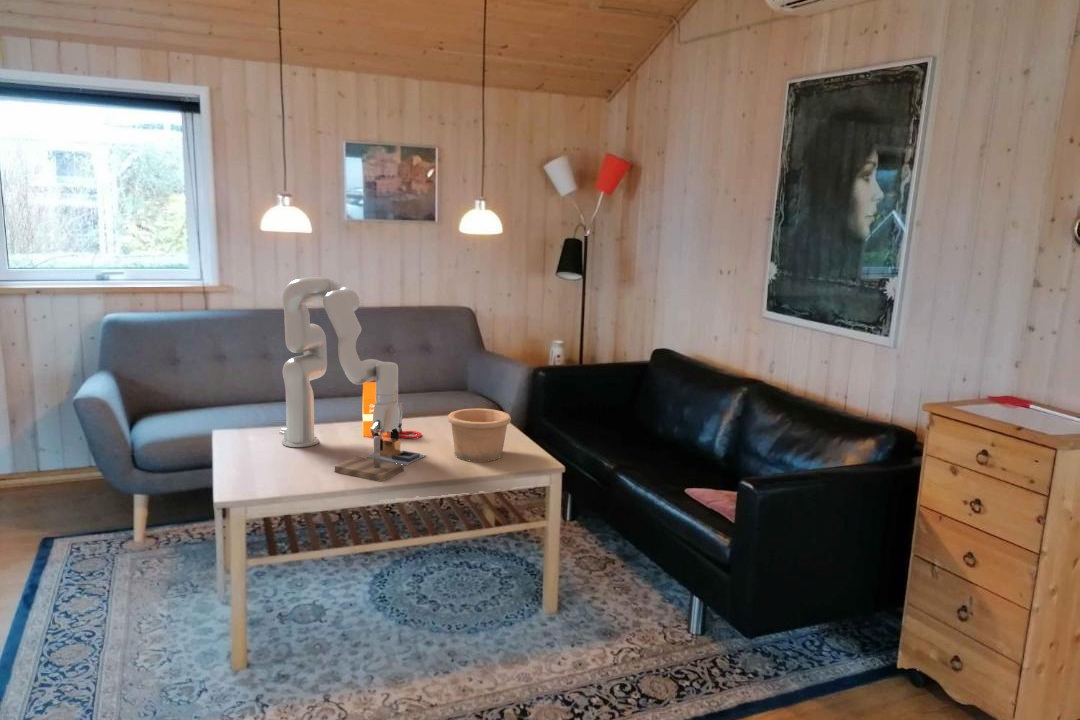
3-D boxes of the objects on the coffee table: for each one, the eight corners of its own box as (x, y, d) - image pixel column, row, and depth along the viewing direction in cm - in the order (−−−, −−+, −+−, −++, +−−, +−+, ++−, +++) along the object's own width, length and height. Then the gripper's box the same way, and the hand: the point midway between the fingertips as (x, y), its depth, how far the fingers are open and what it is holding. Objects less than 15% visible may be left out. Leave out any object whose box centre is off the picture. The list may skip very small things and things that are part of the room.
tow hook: (422, 434, 291) (398, 432, 290) (424, 402, 288) (400, 400, 288) (420, 440, 282) (395, 438, 282) (422, 407, 280) (397, 405, 280)
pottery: (450, 465, 253) (451, 424, 251) (445, 446, 274) (445, 408, 272) (514, 463, 258) (515, 423, 255) (503, 445, 279) (504, 407, 276)
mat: (366, 458, 257) (366, 457, 257) (386, 449, 268) (386, 448, 268) (406, 465, 251) (406, 464, 251) (425, 456, 262) (425, 455, 262)
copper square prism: (374, 455, 259) (374, 440, 258) (386, 450, 265) (386, 435, 264) (408, 462, 253) (409, 446, 252) (419, 456, 260) (419, 441, 259)
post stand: (334, 472, 242) (334, 435, 239) (357, 462, 252) (357, 427, 250) (381, 481, 235) (381, 444, 233) (402, 470, 246) (403, 435, 243)
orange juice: (387, 435, 285) (387, 384, 282) (363, 436, 283) (363, 384, 279) (385, 430, 292) (386, 380, 289) (362, 431, 290) (362, 380, 287)
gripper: (392, 392, 267) (391, 439, 270) (362, 401, 251) (362, 451, 254) (410, 394, 264) (409, 442, 267) (381, 404, 248) (381, 454, 251)
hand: (386, 446), depth 260 cm, fingers open, 9 cm apart
